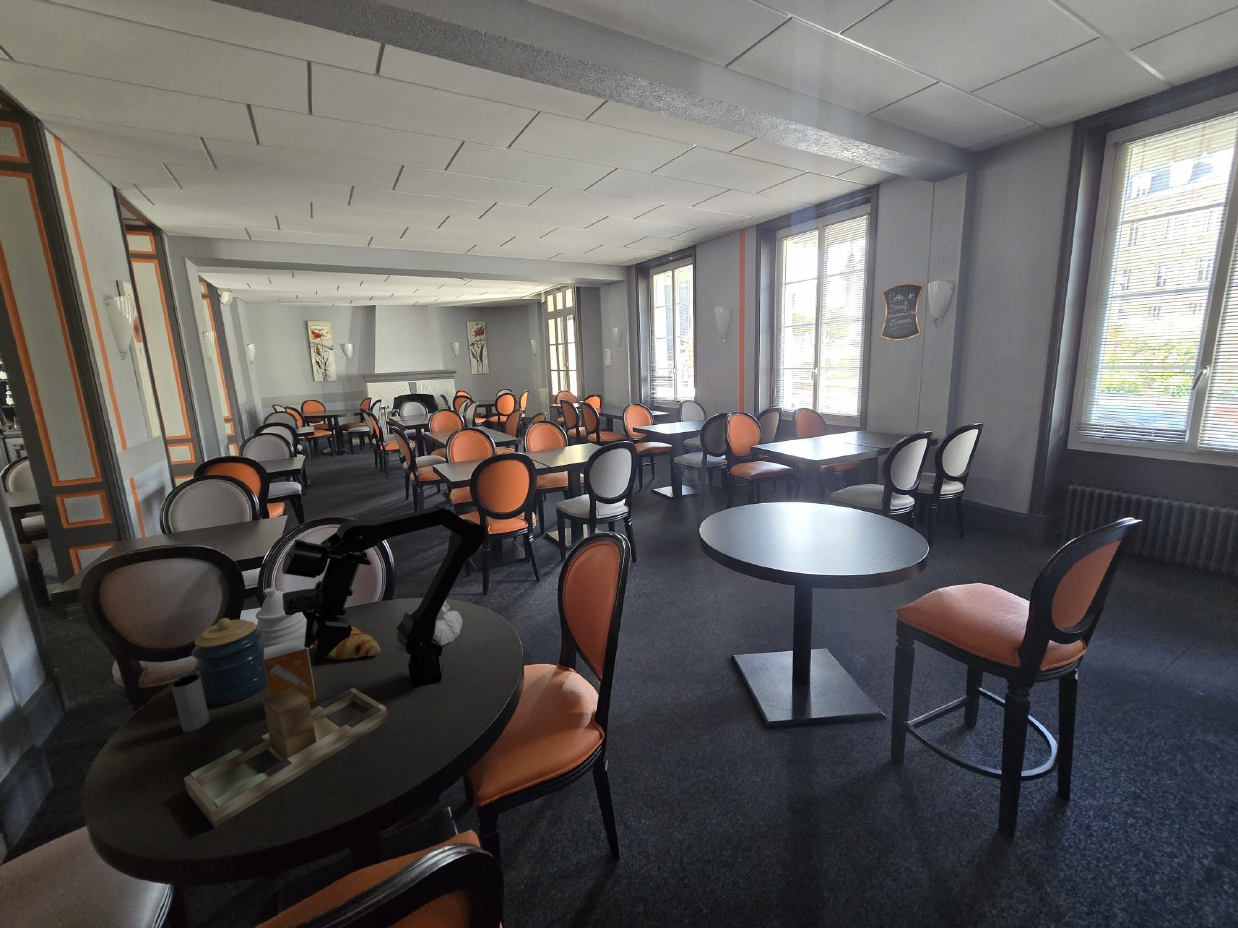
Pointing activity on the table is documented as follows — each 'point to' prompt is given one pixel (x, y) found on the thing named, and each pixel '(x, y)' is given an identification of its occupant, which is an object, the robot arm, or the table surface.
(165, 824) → the table surface
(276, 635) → the honey pot
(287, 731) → the walnut block
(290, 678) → the small box
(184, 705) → the planter
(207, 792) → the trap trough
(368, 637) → the croissant
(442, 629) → the white lumpy piece
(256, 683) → the canister
